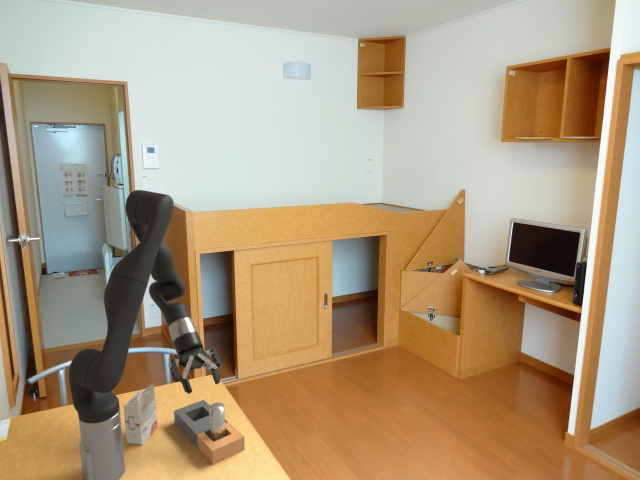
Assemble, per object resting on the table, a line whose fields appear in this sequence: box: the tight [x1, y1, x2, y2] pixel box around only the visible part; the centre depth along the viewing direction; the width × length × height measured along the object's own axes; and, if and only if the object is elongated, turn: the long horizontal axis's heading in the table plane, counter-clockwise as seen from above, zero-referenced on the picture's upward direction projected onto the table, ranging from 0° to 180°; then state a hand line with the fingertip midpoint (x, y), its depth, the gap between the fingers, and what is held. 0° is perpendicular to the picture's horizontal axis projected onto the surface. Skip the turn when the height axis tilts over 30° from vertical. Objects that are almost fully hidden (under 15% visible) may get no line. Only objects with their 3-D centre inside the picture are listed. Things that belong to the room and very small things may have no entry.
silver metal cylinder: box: [209, 402, 226, 442], centre depth 130 cm, size 4×4×12 cm
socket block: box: [173, 399, 246, 465], centre depth 135 cm, size 10×24×4 cm, turn 40°
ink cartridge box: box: [123, 383, 158, 446], centre depth 134 cm, size 9×5×15 cm, turn 168°
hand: (204, 387), depth 133 cm, fingers open, 8 cm apart
